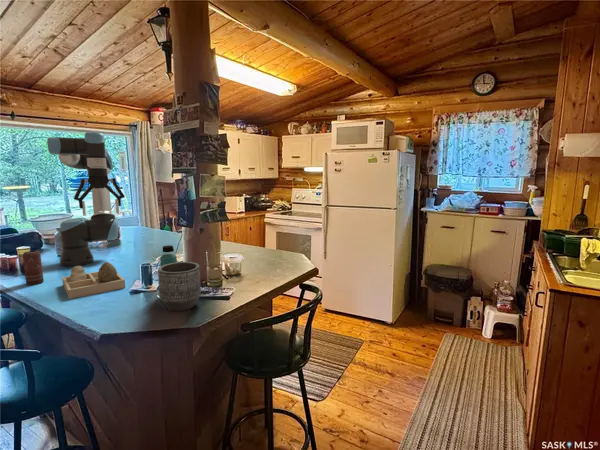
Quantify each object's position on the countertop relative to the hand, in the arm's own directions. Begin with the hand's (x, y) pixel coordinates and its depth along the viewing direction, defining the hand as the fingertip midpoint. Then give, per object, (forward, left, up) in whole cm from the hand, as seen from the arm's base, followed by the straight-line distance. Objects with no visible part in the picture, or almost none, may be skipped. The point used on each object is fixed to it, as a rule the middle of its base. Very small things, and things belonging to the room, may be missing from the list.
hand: (101, 214), depth 160 cm
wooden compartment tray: (+16, -8, -29) cm, 34 cm away
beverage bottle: (+46, +14, -29) cm, 56 cm away
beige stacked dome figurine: (+11, -13, -28) cm, 32 cm away
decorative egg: (+21, -3, -28) cm, 35 cm away
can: (-5, -27, -29) cm, 40 cm away
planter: (+60, +13, -29) cm, 68 cm away
